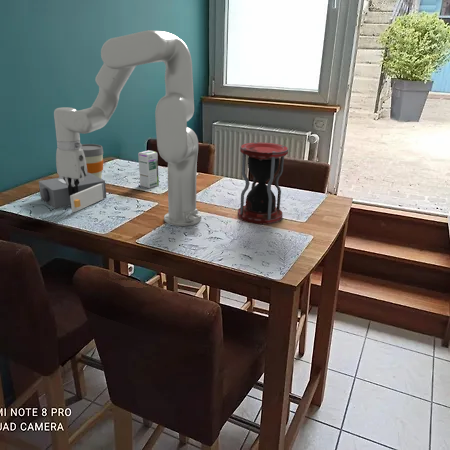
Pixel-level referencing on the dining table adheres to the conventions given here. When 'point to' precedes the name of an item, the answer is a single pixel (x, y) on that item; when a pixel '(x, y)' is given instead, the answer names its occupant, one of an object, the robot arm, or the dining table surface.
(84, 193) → the side door
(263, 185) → the hourglass
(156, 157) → the syrup box
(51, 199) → the camera housing
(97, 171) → the reusable coffee cup
